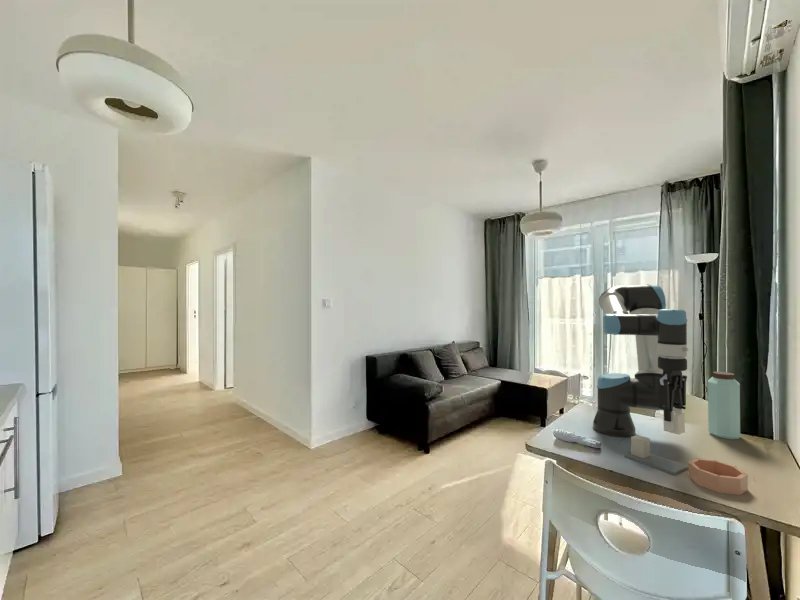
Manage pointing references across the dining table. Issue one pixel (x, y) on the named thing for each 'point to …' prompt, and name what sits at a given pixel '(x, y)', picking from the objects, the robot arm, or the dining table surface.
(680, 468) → the slate board
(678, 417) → the stone
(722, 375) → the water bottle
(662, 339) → the robot arm
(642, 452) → the stone
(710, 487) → the bowl
